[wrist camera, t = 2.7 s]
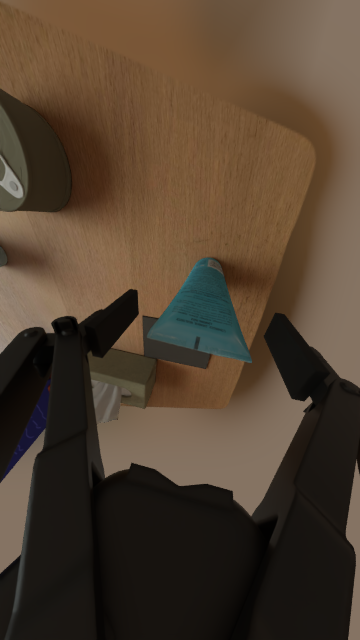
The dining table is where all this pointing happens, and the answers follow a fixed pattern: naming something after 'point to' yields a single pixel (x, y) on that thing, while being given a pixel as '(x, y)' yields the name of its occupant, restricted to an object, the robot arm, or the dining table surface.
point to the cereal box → (32, 427)
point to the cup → (2, 257)
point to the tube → (203, 315)
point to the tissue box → (120, 382)
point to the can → (30, 161)
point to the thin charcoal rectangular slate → (171, 349)
